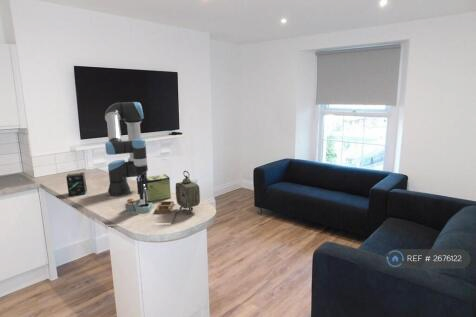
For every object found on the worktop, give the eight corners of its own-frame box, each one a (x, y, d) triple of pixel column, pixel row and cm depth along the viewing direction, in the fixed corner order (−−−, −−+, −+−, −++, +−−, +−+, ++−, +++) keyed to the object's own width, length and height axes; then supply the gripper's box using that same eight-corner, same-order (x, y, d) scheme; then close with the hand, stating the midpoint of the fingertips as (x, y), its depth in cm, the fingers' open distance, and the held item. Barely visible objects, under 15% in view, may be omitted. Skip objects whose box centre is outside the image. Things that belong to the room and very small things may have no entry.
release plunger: (128, 206, 194) (128, 199, 193) (135, 206, 194) (134, 199, 193) (126, 209, 190) (126, 201, 189) (133, 209, 190) (132, 201, 189)
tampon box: (87, 190, 237) (84, 171, 234) (85, 194, 228) (83, 174, 225) (70, 192, 233) (68, 173, 230) (68, 196, 225) (65, 176, 222)
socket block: (130, 208, 198) (129, 200, 197) (154, 207, 199) (153, 200, 198) (123, 215, 187) (123, 207, 186) (149, 214, 187) (149, 206, 186)
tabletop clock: (176, 209, 195) (174, 169, 190) (189, 205, 200) (187, 167, 195) (188, 216, 184) (185, 174, 179) (201, 212, 189) (199, 171, 184)
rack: (159, 205, 202) (159, 201, 201) (175, 205, 202) (175, 200, 201) (153, 215, 186) (153, 210, 185) (170, 214, 186) (170, 210, 185)
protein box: (171, 199, 213) (169, 177, 210) (148, 203, 206) (146, 180, 203) (166, 195, 222) (165, 173, 219) (144, 199, 215) (142, 177, 212)
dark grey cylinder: (142, 208, 194) (140, 183, 191) (148, 208, 194) (146, 183, 191) (140, 211, 190) (138, 185, 187) (147, 210, 190) (144, 185, 187)
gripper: (138, 161, 196) (141, 197, 200) (129, 168, 178) (133, 208, 182) (150, 161, 196) (153, 197, 200) (142, 168, 178) (146, 207, 183)
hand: (143, 202), depth 191 cm, fingers open, 5 cm apart
